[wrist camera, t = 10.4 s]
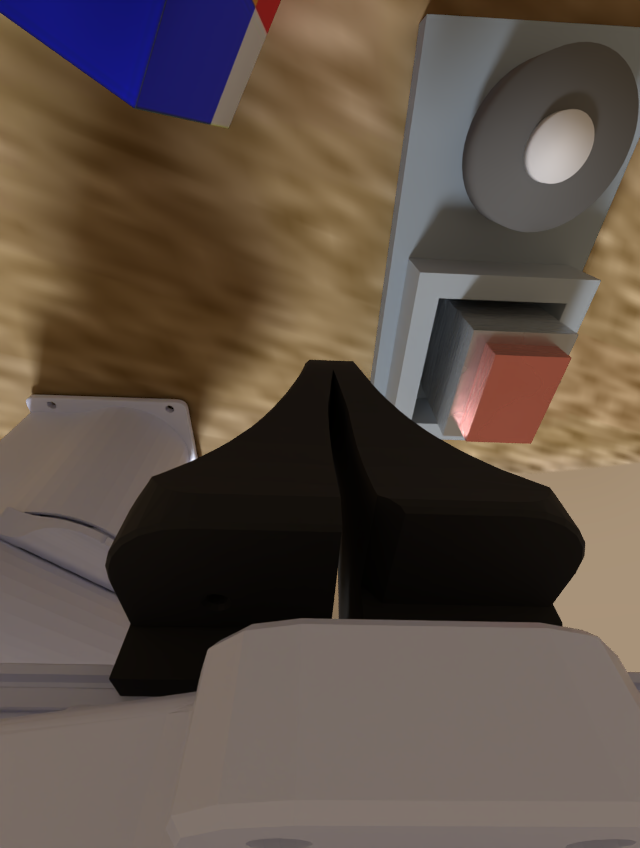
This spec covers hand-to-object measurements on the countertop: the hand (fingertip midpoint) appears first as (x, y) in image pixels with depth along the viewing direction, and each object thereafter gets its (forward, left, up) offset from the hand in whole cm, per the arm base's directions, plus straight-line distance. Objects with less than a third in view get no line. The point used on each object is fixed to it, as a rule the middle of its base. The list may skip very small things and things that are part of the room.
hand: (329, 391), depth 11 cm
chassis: (+8, +1, -10) cm, 13 cm away
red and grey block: (+8, -2, -9) cm, 12 cm away
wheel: (+7, +6, -8) cm, 13 cm away
